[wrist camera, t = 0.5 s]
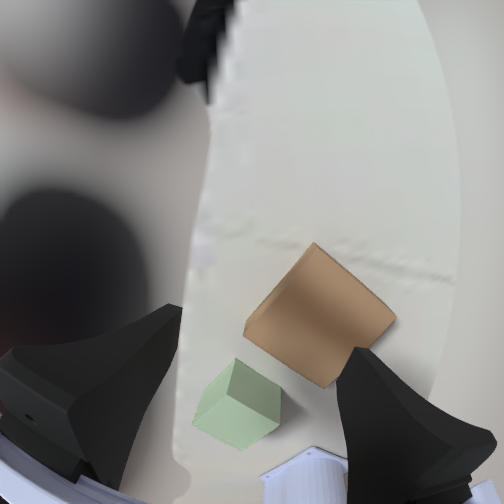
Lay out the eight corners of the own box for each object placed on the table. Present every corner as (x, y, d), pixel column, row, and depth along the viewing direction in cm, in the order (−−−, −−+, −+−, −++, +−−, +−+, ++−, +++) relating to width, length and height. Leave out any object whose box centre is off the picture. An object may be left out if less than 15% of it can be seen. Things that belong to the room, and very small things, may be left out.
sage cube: (247, 414, 24) (241, 451, 19) (204, 388, 24) (191, 424, 19) (280, 386, 23) (280, 424, 18) (235, 357, 23) (226, 394, 18)
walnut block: (319, 368, 23) (323, 389, 20) (247, 318, 22) (242, 335, 19) (383, 302, 21) (397, 316, 18) (312, 240, 21) (318, 248, 18)
